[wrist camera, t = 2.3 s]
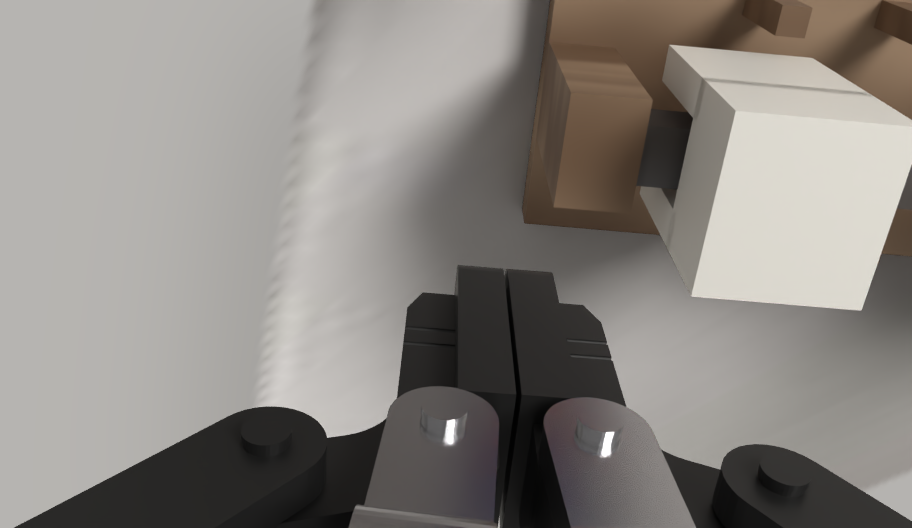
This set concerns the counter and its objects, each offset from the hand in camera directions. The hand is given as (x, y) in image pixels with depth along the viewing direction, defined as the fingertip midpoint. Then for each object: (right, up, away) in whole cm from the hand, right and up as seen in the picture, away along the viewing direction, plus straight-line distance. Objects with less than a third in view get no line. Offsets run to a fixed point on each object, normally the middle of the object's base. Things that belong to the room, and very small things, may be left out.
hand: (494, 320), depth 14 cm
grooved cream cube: (+7, +5, +11) cm, 14 cm away
